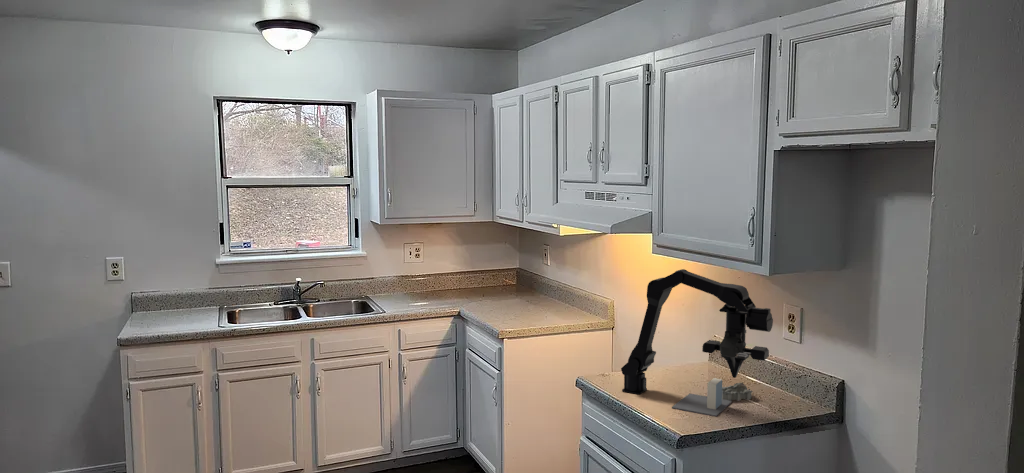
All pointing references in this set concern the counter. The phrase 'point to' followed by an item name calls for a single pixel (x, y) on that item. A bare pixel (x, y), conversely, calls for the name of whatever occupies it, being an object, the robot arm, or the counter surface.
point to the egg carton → (736, 392)
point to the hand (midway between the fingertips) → (734, 377)
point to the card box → (714, 393)
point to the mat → (699, 405)
